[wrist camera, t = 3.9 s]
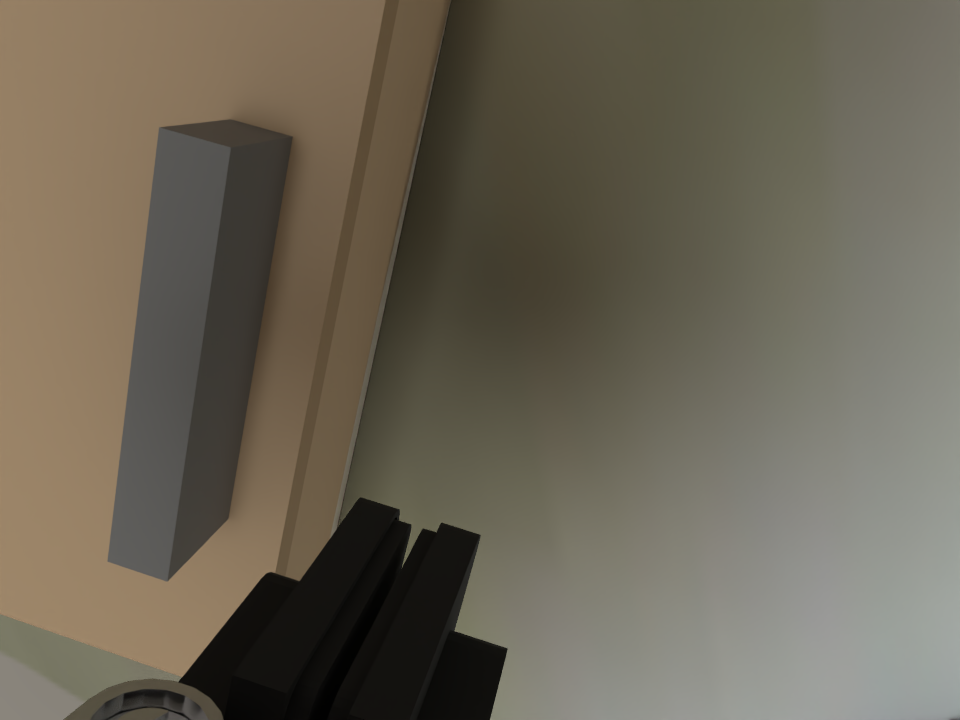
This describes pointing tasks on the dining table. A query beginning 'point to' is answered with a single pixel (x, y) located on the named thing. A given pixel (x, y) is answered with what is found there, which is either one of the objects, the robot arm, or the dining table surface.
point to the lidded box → (368, 271)
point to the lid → (169, 298)
